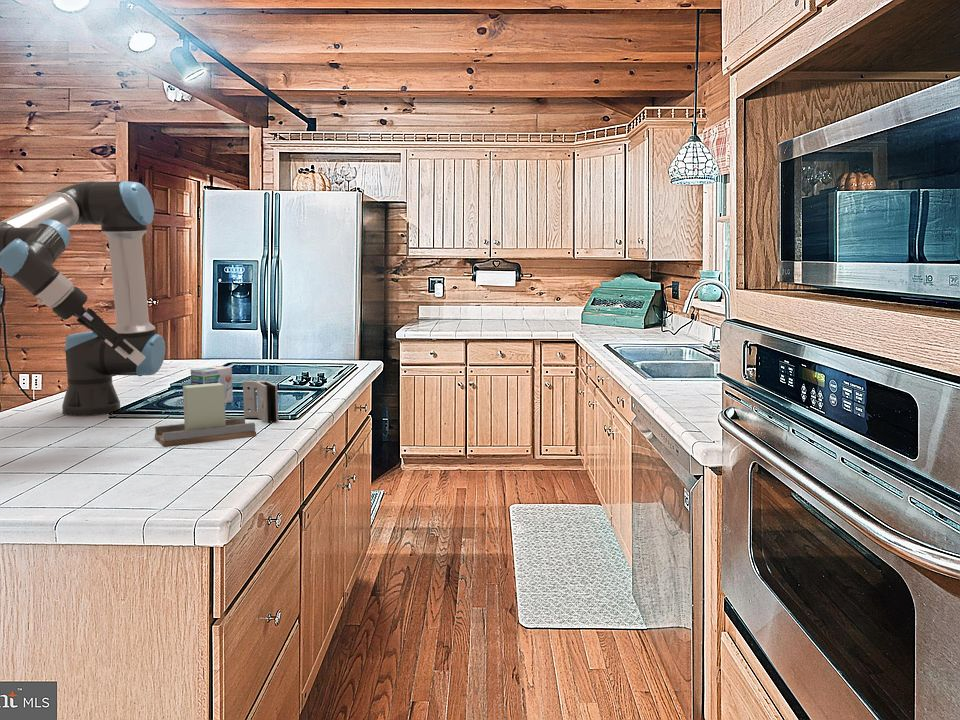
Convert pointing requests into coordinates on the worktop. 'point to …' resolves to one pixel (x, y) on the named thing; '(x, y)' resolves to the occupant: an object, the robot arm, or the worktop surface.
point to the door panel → (204, 406)
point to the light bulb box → (214, 378)
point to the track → (203, 432)
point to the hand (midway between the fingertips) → (135, 357)
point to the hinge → (261, 400)
